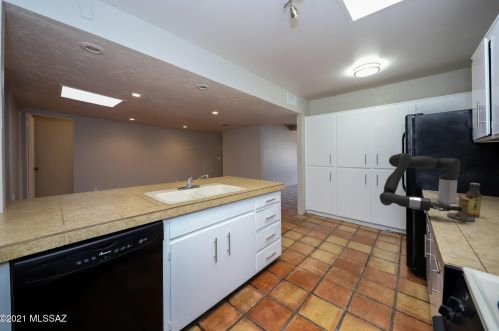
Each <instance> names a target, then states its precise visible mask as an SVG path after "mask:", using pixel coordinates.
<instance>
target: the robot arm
mask: <svg viewBox="0 0 499 331" xmlns="http://www.w3.org/2000/svg"><path fill="white" fill-rule="evenodd" d="M388 163H389V164H390V166H392V167H395V169H394V171H393V172H392V173H390V175H388V177H387V179H386V181H385V184H384V185H383V192H381V193H380V194H379V200H380V203H381V204H382V205H384V206H388V207H389V206H391V205H392V204H396V205H398V206H399V207H403V208H410V209H413V210H420V211H424V212H425V211H427V212H430V210H431V209H432V210H436V211H439V212H451V211H455V212H458V211H460V212H461V211H462V208H461V207H458V206H455V205H454V204H456V200H457V190H458V179H459V176H460V171H461V161H460V159H458V158H456V157H455V158H450V157H441V158H434V157H431V156H426V155H416V156H411V155H410V154H409V153H407V152H401V153H397V154H393V155H391V156H389V159H388ZM408 168H415V169H421V170H422V169H423V170H425V169H426V170H429V169H436V170H442V171H447V173H445V174H441V175H439V182H438V195H437V197H438V198H437V201H434V202H431V198H428V197H419V196H409V195H408V196H407V195H402V194H401V195H400V194H397V193H396V192H397V190H398V187H399V183H400V181H401V179H402V177H403V176H404V174H405V173H406V170H407V169H408ZM439 201H440V202H439ZM452 204H453V205H452Z"/></svg>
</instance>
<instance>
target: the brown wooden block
mask: <svg viewBox="0 0 499 331" xmlns="http://www.w3.org/2000/svg"><path fill="white" fill-rule="evenodd" d="M458 196H459V197H458V206H457V207H461V208H462V211H461V212H460V211H455V212H454V213H455V215H457V216H459V217H460V219H461V221H460V222H464V221H467V215H468V204H469V199H468V198H467V197H466V194H459V195H458Z"/></svg>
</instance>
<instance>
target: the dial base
mask: <svg viewBox="0 0 499 331" xmlns="http://www.w3.org/2000/svg"><path fill="white" fill-rule="evenodd" d="M455 213H456V212H451V213H450V212H448V213H446V217H447V218H449V219H452V220H455V221H460V222H462V221H461V219H460V217H459V216H457V215H455ZM463 222H464V223H465V222H466V223H475V222H476V217H471V216H468V215H467V221H463Z"/></svg>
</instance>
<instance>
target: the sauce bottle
mask: <svg viewBox="0 0 499 331" xmlns="http://www.w3.org/2000/svg"><path fill="white" fill-rule="evenodd" d="M480 187H481V183H477V182H470V183H469V190H468V191H467V192H466V193H465V196H466V197H467V198H468V199H469V204H468V216H471V217H474V218H479V217H480V215H481V209H482V198H483V197H482V195H481V192H480Z"/></svg>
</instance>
